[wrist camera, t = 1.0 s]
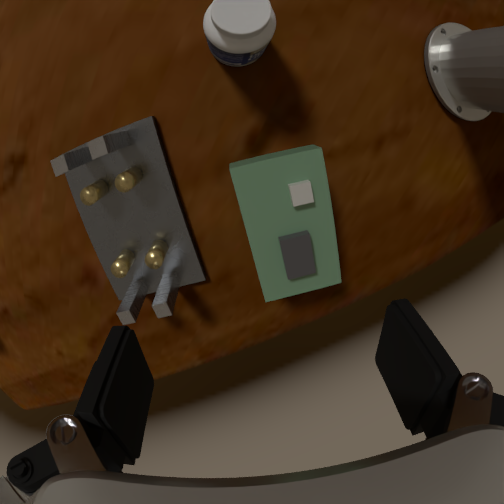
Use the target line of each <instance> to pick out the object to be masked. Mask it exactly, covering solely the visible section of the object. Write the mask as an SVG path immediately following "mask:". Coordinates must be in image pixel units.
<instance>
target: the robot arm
mask: <svg viewBox="0 0 504 504" xmlns="http://www.w3.org/2000/svg"><path fill="white" fill-rule="evenodd" d="M424 60H425V67H426V72H427V76H428V79H429V82H430V84H431V86H432V89H433V91H434V93H435V94H436V96H437V98H438V99H439V101H440V102H441V103H442V104H443V106H444V107H445V108H446V109H447V110H448V111H449V112H450V113H452V114H453V115H455V116H456V117H458V118H461V119H464V120H469V121H479V120H482V119H484V118H485V117H487V116H488V115H489V114H490V113H491V112H492V111H494V112H500V113H504V26H502V27H494V28H487V29H480V30H474V31H472V30H470V29H469V28H467V27H465V26H463V25H461V24H458V23H445V24H441V25H439V26H436V27H435V28H434V29H433V30H432V31H431V32H430V34H429V35H428V37H427V40H426V43H425V50H424ZM375 361H376V365H377V366H378V369H379V371H380V373H381V375H382V377H383V379H384V381H385V383H386V386H387V388H388V390H389V392H390V394H391V397H392V399H393V401H394V403H395V405H396V408H397V410H398V412H399V414H400V417H401V419H402V421H403V423H404V426H405V428H406V429H408V430H409V429H410V431H411V433H412V435H416V434H418V433H421V432H424V433H425V435H426V439H425V440H424V441H421V442H419V443H415V444H412V445H410V446H406V447H403V448H400V449H397V450H393V451H390V452H387V453H383V454H380V455H376V456H373V457H369V458H365V459H361V460H357V461H353V462H349V463H344V464H340V465H335V466H330V467H324V468H319V469H314V470H308V471H301V472H294V473H286V474H278V475H267V476H257V477H239V478H177V477H160V476H146V475H137V474H127V473H123V472H122V468H123V464H129V465H134V464H135V459H136V458H139V457H140V452H141V447H142V442H143V436H144V431H145V426H146V421H147V416H148V411H149V406H150V401H151V397H152V392H153V387H154V380H153V376H152V374H151V372H150V369H149V367H148V365H147V362H146V360H145V357H144V355H143V352H142V350H141V347H140V345H139V342H138V340H137V337H136V334H135V332H134V330H130V328H129V327H128V326H113V327H112V328H111V330H110V333H109V335H108V337H107V339H106V341H105V344H104V346H103V348H102V350H101V353H100V355H99V357H98V360H97V361H96V362H95V363H94V365H93V367H92V370H91V372H90V375H89V377H88V379H87V382H86V384H85V387H84V389H83V392H82V394H81V397H80V399H79V402H78V404H77V407H76V410H75V412H74V415H73V416H72V415H61V416H58V417H56V418H55V419H53V420H52V421H51V422H50V424H49V425H48V427H47V430H46V438H47V439H45V440H44V441H42V442H40V443H38V444H36V445H35V446H33V447H31V448H29V449H27V450H26V451H24V452H22V453H20V454H18V455H16V456H15V457H13V458H12V459H11V460H10V462H9V463H8V466H7V477H6V478H5V477H4V476H2V477H1V478H0V504H504V396H502V395H499V394H496V393H493V387H492V385H491V382H490V381H489V380H488V379H487V378H486V377H485V376H483V375H481V374H479V373H467V374H466V375H463V376H462V375H461V373H460V371H459V369H458V368H457V366H456V365H455V363H454V362H453V360H452V359H451V358H450V356H449V355H448V353H447V352H446V350H445V349H444V348H443V346H442V345H441V344H440V342H439V341H438V339H437V338H436V336H435V335H434V334H433V332H432V331H431V330H430V328H429V327H428V326H427V324H426V323H425V321H424V320H423V319H422V318H421V316H420V315H419V314H418V312H417V311H416V310H415V308H414V307H413V306H412V304H411V303H410V302H409V301H408V300H407V299H400V300H394V301H392V302H391V304H390V305H388V306H387V309H386V314H385V319H384V323H383V327H382V332H381V336H380V340H379V344H378V348H377V352H376V356H375Z"/></svg>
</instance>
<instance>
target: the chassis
mask: <svg viewBox="0 0 504 504" xmlns="http://www.w3.org/2000/svg"><path fill="white" fill-rule="evenodd" d="M51 164H52V167H53V170H54V173H55V176H56V177H57V176H59V175H61V174H63V173H65V175H66V178H67V181H68V184H69V186H70V189H71V192H72V195H73V197H74V200H75V203H76V205H77V208H78V211H79V213H80V216H81V218H82V221H83V223H84V226H85V228H86V230H87V233H88V235H89V237H90V240H91V242H92V244H93V247H94V249H95V251H96V253H97V256H98V258H99V260H100V262H101V264H102V266H103V269H104V271H105V273H106V275H107V277H108V279H109V281H110V283H111V285H112V287H113V289H114V291H115V293H116V295H117V297H118V299H119V300H122V302H121V304H120V306H119V308H118V311H117V315H118V317H119V319H120V321H121V322H122V324H123V325H125V324H130V323H135V322H136V320H137V317H138V315H139V312H140V310H141V307H142V305H143V302H144V300H145V297H146V295H147V294H150V293H154V292H156V295H155V298H154V301H153V303H152V307H153V309H154V311H155V313H156V315H157V317H158V318H161V317H166V316H171V315H172V314H173V310H174V306H175V302H176V298H177V294H178V290H179V287H180V286H184V285H188V284H193V283H197V282H201V281H205V280H206V274H205V271H204V268H203V266H202V263H201V260H200V257H199V254H198V251H197V249H196V246H195V243H194V240H193V237H192V234H191V231H190V228H189V225H188V222H187V219H186V217H185V214H184V211H183V208H182V204H181V201H180V198H179V195H178V192H177V189H176V186H175V183H174V180H173V177H172V173H171V170H170V167H169V164H168V161H167V157H166V154H165V151H164V147H163V144H162V141H161V137H160V134H159V131H158V127H157V124H156V120H155V117H154V116H151V117H148V118H145V119H142V120H140V121H137V122H135V123H132V124H129V125H127V126H124V127H122V128H119V129H117V130H115V131H112V132H110V133H107V134H105V135H103V136H100V137H98V138H96V139H94V140H91V141H89V142H87V143H85V144H83V145H81V146H79V147H77V148H74V149H72V150H70V151H68V152H66V153H64V154H62V155H60V156H59V157H57V158H55V159H53V160H51Z"/></svg>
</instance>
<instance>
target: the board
mask: <svg viewBox="0 0 504 504" xmlns="http://www.w3.org/2000/svg"><path fill="white" fill-rule="evenodd" d="M229 169H230V173H231V177H232V180H233V184H234V188H235V191H236V195H237V199H238V202H239V206H240V210H241V213H242V217H243V221H244V224H245V228H246V232H247V235H248V239H249V243H250V246H251V250H252V254H253V257H254V261H255V265H256V269H257V272H258V276H259V280H260V283H261V287H262V291H263V294H264V298H265V302H269V301H273V300H277V299H281V298H285V297H289V296H293V295H297V294H301V293H305V292H308V291H312V290H316V289H320V288H324V287H327V286H331V285H335V284H338V283H341V273H340V264H339V256H338V247H337V240H336V232H335V225H334V218H333V211H332V204H331V198H330V192H329V186H328V180H327V174H326V169H325V163H324V158H323V152H322V148H321V147H318V146H316V145H308V146H303V147H298V148H293V149H289V150H284V151H280V152H275V153H271V154H266V155H262V156H258V157H254V158H250V159H246V160H242V161H238V162H234V163H230V167H229Z"/></svg>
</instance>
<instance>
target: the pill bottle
mask: <svg viewBox="0 0 504 504" xmlns="http://www.w3.org/2000/svg"><path fill="white" fill-rule="evenodd" d="M203 26H204V32H205V35H206V38H207V42H208V45H209V48H210V51H211V53H212V54H213V56H214V57H215V58H216V59H217V60H219V61H220V62H222V63H224V64H226V65H229V66H245V65H248V64H251V63H253V62H255V61H256V60H257V59H258V58H259V57H260V56H261V55H262V54H263V53H264V51H265V49H266V47H267V46H268V44H269V42H270V40H271V38H272V36H273V34H274V31H275V28H276V17H275V14H274V11H273V9H272V8H271V4H270V2H269V0H214V1H213V2H212V4H211V5H210V6H209V8H208V9H207V11H206V13H205V16H204V21H203Z"/></svg>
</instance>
